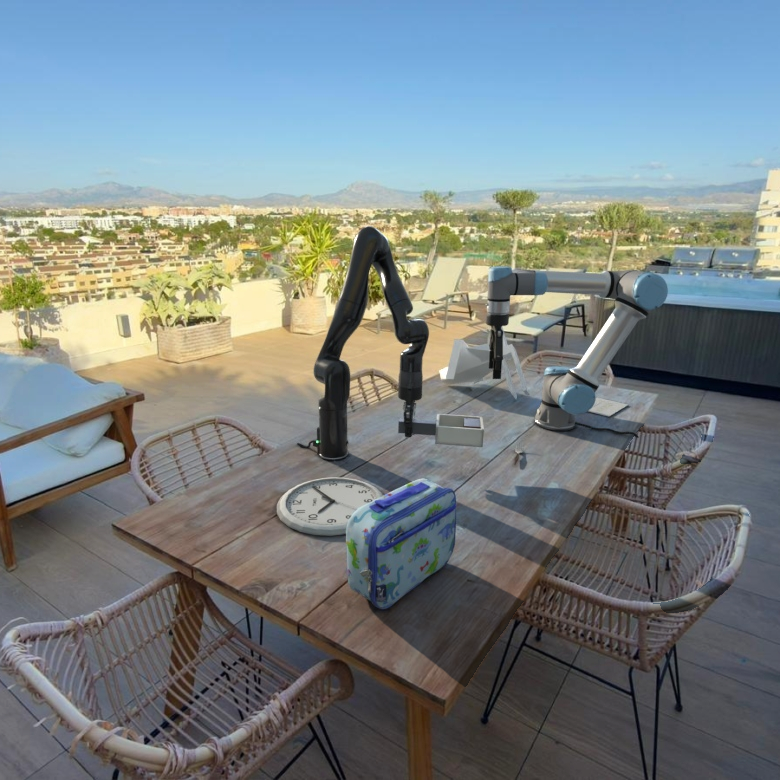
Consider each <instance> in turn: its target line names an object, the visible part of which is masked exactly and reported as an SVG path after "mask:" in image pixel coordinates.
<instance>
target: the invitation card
mask: <svg viewBox="0 0 780 780" xmlns="http://www.w3.org/2000/svg"><path fill="white" fill-rule="evenodd" d="M595 398H596V400H595V403H594V405H593V407H592V408H591V409H590V410H589V411H587V413H593V414H596V415H600V416H604V417H608V418H609V417H611V416H613V415H614V414H616V413H617V412H619V411H621V410H623V409H624V408H626V407H628V406H629V404H627V403H623V402H618V401H614V400H609V399H605V398H601V397H596V396H595Z"/></svg>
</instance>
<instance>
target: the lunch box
mask: <svg viewBox="0 0 780 780" xmlns="http://www.w3.org/2000/svg"><path fill="white" fill-rule="evenodd" d="M456 498H457V496H456V493H455V491H454V489H452V488H450V487H443V486H441V485H439V484H438V483H436V482H433V481H432V480H430V479H427V478H423V477H422V478H418V479H416V480H413V481H411V482H409V483H406V484H405V485H402V486H400V487H398V488H396V489H394V490H392V491H390V492H388V493H386V494H384V496H382V497H380V498H378V499H376V500H374V501H372V502H370V503H368V504H366V505H364V506H362V507H360V508H358V509H357V510H356V511H355V512H354V513H353V514H352V515H351V517H350V519H349V521H348V524H347V528H346V534H345V547H346V549H345V550H346V572H347V573H346V575H347V584H348V587H349V589H350V590H351V591H353V592H355V593H357V594H358V595H361V596H363V597H364V598H365V599H367V600H368V601H369V602H371V604H372V605H373V606H374V607H376V608H377V609H380V610H386V609H389V608H391V607H393V605H395V603H397V602H398V601H399V600H400V599H402V598H403V597H404V596H405V595H408V593H410V592H411V591H412V590H413V589H415V588H416V587H417V586H419V585H420V584H421V583H423V581H424V580H425V579H427V578H428V577H430V576H431V575H433V574H435V573H437V572H438V571H439V570H441V569H442V568H443V567H444V566H446V564H447V563H448V562H449V560H450V559H451V556H452V555H453V552H454V548H455V544H456V531H457V530H456V529H457V499H456Z"/></svg>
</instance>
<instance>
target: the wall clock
mask: <svg viewBox="0 0 780 780" xmlns="http://www.w3.org/2000/svg"><path fill="white" fill-rule="evenodd" d="M384 495H385V494H384V493H383V492H382V491H381V490H380V489H379V488H377V487H376V486H374V485H372V484H371V483H369V482H365V481H362V480H359V479H355V478H349V477H338V476H337V477H335V476H333V477H332V476H331V477H322V478H317V479H312V480H307V481H305V482H302V483H299V484H297V485H295V486H293V487H292V488H290V489H288V490H287V491H286V492H285V493H284V494H283V495H281V496H280V498H279V499H278V502H277V503H276V515H277V517H278V518H279V520H280V521H281V522H282V523H283V524H285V525H286V526H287V527H288V528H290V529H293V530H295V531H297V532H299V533H303V534H308V535H312V536H327V537H328V536H329V537H331V536H332V537H333V536H342V535H346V528H347V524H348V521H349V519H350V517H351V515H352V514H353V513H354V512H355V511H356V510H357V509H358V508H360V507H362V506H364V505H366V504H368V503H370V502H372V501H374V500H376V499H378V498H380V497H382V496H384Z"/></svg>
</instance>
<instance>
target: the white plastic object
mask: <svg viewBox="0 0 780 780" xmlns="http://www.w3.org/2000/svg"><path fill="white" fill-rule="evenodd" d="M503 327H504V326H502V327H501V329H502V331H503V360H502V370H503V373H504V376H505V380H506V383H507V386H508V390H509V393H510V394H511V395H512V397H513V398H514V399H515V400H517V392H516V391H517V390H516V388H515V385H514V381H513V378H512V375H511V371H510V369H509V365H508V361H510V360H513V363H514V366H515V369H516V372H517V376H518V380H519V382H520V385H521V389H522V391H523V393H524V395H525V396H526V397H528V396H531V395H530V390H529V388H528V387H529V386H528V384H527V381H526V378H525V375H524V371H523V369H522V368H523V367H522V366H521V362H520V359H519V355H518V352H517V349H516V347H515V346H514V345H513V343H511V344H508V341H507V337H506V334H505V331H504V328H503ZM489 344H490V343H488V342H487V343H483V344H479V345H473V346H469V345H468V343H466V342H465V340H464V339H463V338H460V339H458V338H454V340H453V344H452V349H451V353H450V357H449V362H448V366H446V367H444V368H442V369H440V370H439V371H438V372H439V376H440V381H442V383H443V384H444V385H445V386H449V385H458V384H467V383H468V384H469V383H473V384H477V383H480V382H482V381H484V378H485V377H486V376H487V375H489V374H490V373H493V369H489V353H490V351H491V350H490V349H489V348H490V347H489ZM499 357H500V356H499Z"/></svg>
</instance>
